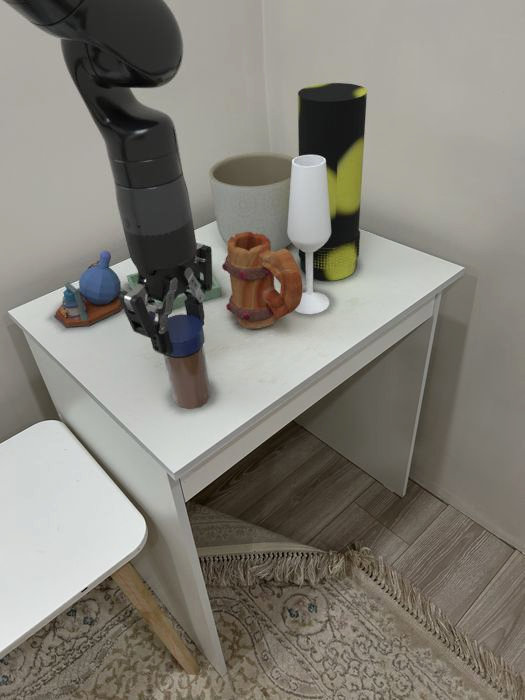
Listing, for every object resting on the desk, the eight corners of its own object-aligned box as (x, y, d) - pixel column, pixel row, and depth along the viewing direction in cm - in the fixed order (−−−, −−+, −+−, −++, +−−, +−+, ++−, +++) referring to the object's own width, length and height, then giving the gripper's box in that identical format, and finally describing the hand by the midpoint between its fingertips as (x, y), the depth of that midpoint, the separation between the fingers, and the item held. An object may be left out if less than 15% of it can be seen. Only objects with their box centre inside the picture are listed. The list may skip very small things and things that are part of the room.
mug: (218, 318, 90) (207, 235, 80) (255, 298, 94) (249, 216, 84) (278, 358, 81) (274, 270, 71) (317, 334, 85) (317, 248, 75)
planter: (269, 216, 118) (265, 145, 108) (321, 245, 107) (321, 168, 97) (202, 242, 110) (191, 168, 101) (250, 275, 99) (243, 196, 90)
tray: (140, 317, 91) (138, 307, 90) (128, 284, 99) (126, 275, 98) (221, 296, 95) (220, 286, 93) (203, 266, 103) (201, 257, 102)
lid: (214, 340, 70) (212, 325, 68) (179, 363, 66) (176, 348, 65) (184, 323, 73) (181, 308, 71) (149, 344, 70) (146, 330, 68)
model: (109, 284, 100) (97, 238, 94) (136, 303, 94) (124, 256, 88) (48, 311, 94) (31, 264, 88) (73, 334, 88) (56, 286, 83)
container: (339, 288, 94) (346, 105, 75) (287, 271, 100) (281, 96, 81) (368, 261, 101) (381, 86, 82) (318, 247, 106) (320, 79, 87)
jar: (182, 414, 73) (168, 351, 66) (168, 391, 77) (153, 329, 70) (217, 399, 75) (207, 336, 68) (201, 378, 78) (190, 316, 71)
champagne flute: (281, 300, 92) (275, 160, 77) (313, 287, 95) (313, 148, 80) (305, 319, 88) (303, 173, 73) (337, 304, 91) (342, 161, 75)
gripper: (136, 253, 52) (166, 382, 63) (223, 196, 61) (237, 317, 72) (82, 237, 56) (120, 361, 66) (173, 185, 65) (193, 302, 75)
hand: (181, 338), depth 69 cm, fingers closed on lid, 6 cm apart
